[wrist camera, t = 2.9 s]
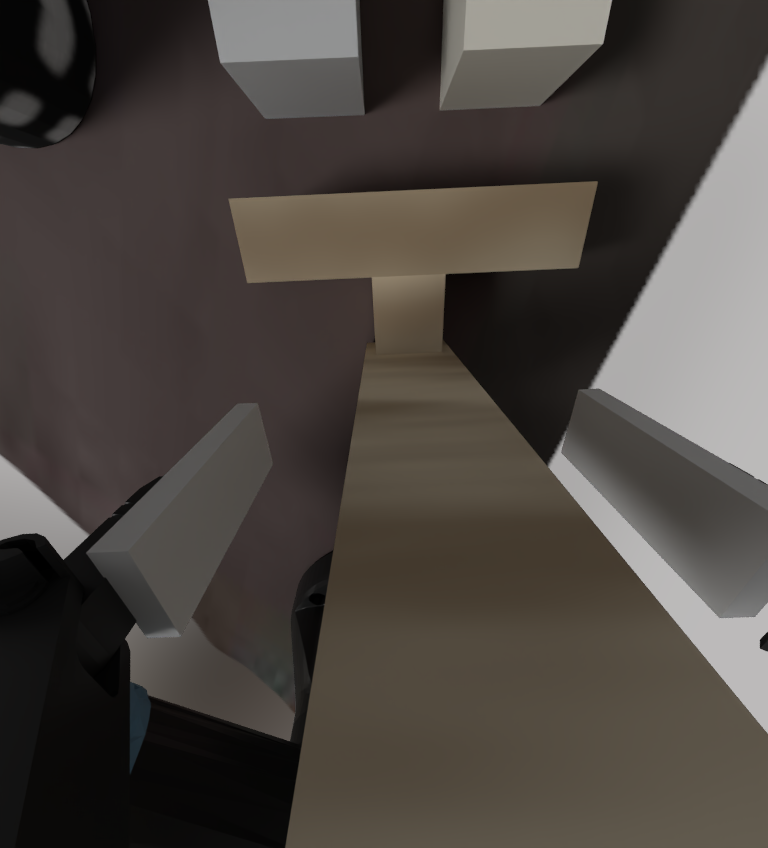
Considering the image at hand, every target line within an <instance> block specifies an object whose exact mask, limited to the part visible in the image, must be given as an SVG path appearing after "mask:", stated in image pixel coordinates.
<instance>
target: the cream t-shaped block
mask: <svg viewBox="0 0 768 848" xmlns="http://www.w3.org/2000/svg"><path fill="white" fill-rule="evenodd" d="M597 184H598V181H592V182H571V183H550V184H529V185H508V186H487V187H466V188H445V189H424V190H403V191H382V192H361V193H340V194H319V195H298V196H277V197H256V198H235V199H229V203H230V208H231V212H232V217H233V221H234V225H235V230H236V234H237V239H238V243H239V248H240V252H241V256H242V261H243V265H244V270H245V274H246V279H247V283H258V282H280V281H302V280H324V279H346V278H368V277H372V289H373V307H374V326H375V343H367V347H366V353H365V359H364V365H363V371H362V377H361V384H360V390H359V396H358V402H357V408H356V414H355V421H354V427H353V433H352V439H351V445H350V451H349V458H348V464H347V470H346V476H345V482H344V488H343V495H342V501H341V507H340V513H339V519H338V525H337V532H336V538H335V544H334V550H333V556H332V562H331V569H330V575H329V581H328V587H327V593H326V599H325V606H324V612H323V618H322V624H321V630H320V636H319V643H318V649H317V655H316V661H315V667H314V673H313V680H312V686H311V692H310V698H309V704H308V710H307V717H306V723H305V729H304V735H303V741H302V747H301V754H300V760H299V766H298V772H297V778H296V784H295V790H294V797H293V803H292V809H291V815H290V821H289V827H288V834H287V840H286V846H285V848H768V734H767V732H766V731H765V730H764V729H763V728H762V727H761V725H760V724H759V723H758V722H757V720H756V719H755V718H754V717H753V716H752V714H751V713H750V712H749V711H748V709H747V708H746V707H745V706H744V705H743V704H742V702H741V701H740V700H739V698H738V697H737V696H736V695H735V694H734V693H733V691H732V690H731V689H730V688H729V686H728V685H727V684H726V683H725V682H724V680H723V679H722V678H721V677H720V676H719V674H718V673H717V672H716V671H715V669H714V668H713V667H712V666H711V664H710V663H709V662H708V661H707V660H706V658H705V657H704V656H703V655H702V654H701V652H700V651H699V650H698V649H697V648H696V646H695V645H694V644H693V643H692V642H691V640H690V639H689V638H688V637H687V635H686V634H685V633H684V632H683V631H682V629H681V628H680V627H679V626H678V625H677V623H676V622H675V621H674V620H673V618H672V617H671V616H670V615H669V613H668V612H667V611H666V610H665V609H664V608H663V606H662V605H661V604H660V603H659V601H658V600H657V599H656V598H655V596H654V595H653V594H652V593H651V592H650V590H649V589H648V588H647V587H646V586H645V584H644V583H643V582H642V581H641V580H640V578H639V577H638V576H637V575H636V573H634V571H633V570H632V569H631V567H630V566H629V565H628V564H627V562H626V561H625V560H624V559H623V558H622V556H621V555H620V554H619V553H618V552H617V550H616V549H615V548H614V547H613V546H612V544H611V543H610V542H609V541H608V539H607V538H606V537H605V536H604V535H603V533H602V532H601V531H600V530H599V528H598V527H597V526H596V525H595V524H594V523H593V521H592V520H591V519H590V518H589V516H588V515H587V514H586V513H585V511H584V510H583V509H582V508H581V507H580V505H579V504H578V503H577V502H576V501H575V500H574V498H573V497H572V496H571V495H570V493H569V492H568V491H567V490H566V489H565V487H564V486H563V485H562V484H561V482H560V481H559V480H558V479H557V478H556V476H555V475H554V474H553V473H552V471H551V470H550V469H549V468H548V467H547V465H546V464H545V463H544V462H543V460H542V459H541V458H540V457H539V456H538V454H537V453H536V452H535V451H534V450H533V448H532V447H531V446H530V445H529V443H528V442H527V441H526V440H525V439H524V437H523V436H522V435H521V434H520V433H519V431H518V430H517V429H516V428H515V426H514V425H513V424H512V423H511V422H510V420H509V419H508V418H507V417H506V416H505V414H504V413H503V412H502V411H501V409H500V408H499V407H498V406H497V405H496V403H495V402H494V401H493V400H492V399H491V397H490V396H489V395H488V394H487V392H486V391H485V390H484V389H483V388H482V386H481V385H480V384H479V383H478V382H477V380H476V379H475V378H474V377H473V375H472V374H471V373H470V372H469V371H468V369H467V368H466V367H465V366H464V365H463V363H462V362H461V361H460V360H459V358H458V357H457V356H456V355H455V354H454V352H453V351H452V350H451V349H450V348H449V346H448V345H447V344H446V343H445V341H444V340H442V339H443V318H444V298H445V277H446V274H457V273H479V272H501V271H523V270H545V269H567V268H578V267H579V263H580V259H581V254H582V250H583V245H584V241H585V237H586V232H587V228H588V223H589V219H590V215H591V210H592V206H593V201H594V197H595V193H596V188H597Z"/></svg>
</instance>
